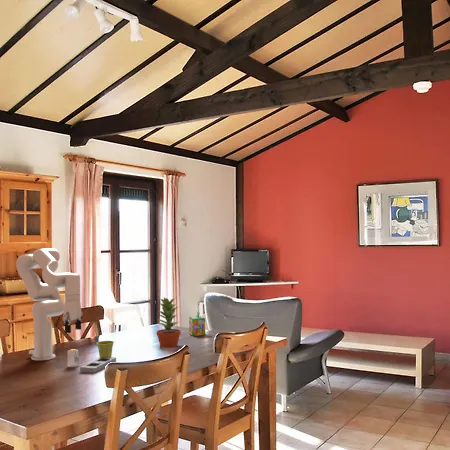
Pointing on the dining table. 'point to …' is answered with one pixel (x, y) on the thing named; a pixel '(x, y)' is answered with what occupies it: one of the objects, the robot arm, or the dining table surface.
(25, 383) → the dining table surface
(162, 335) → the potted plant
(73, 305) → the robot arm
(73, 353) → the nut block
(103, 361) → the grey slotted tray
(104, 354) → the plant pot
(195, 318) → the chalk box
